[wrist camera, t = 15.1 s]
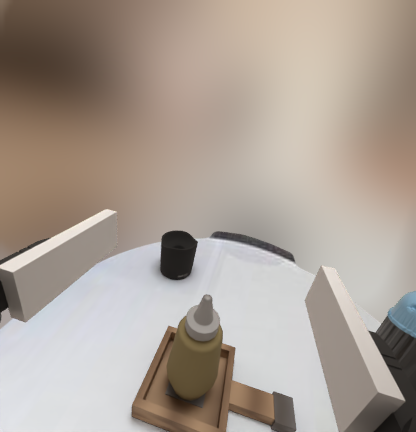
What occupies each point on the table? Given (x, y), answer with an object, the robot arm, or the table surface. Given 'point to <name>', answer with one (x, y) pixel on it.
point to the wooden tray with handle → (207, 399)
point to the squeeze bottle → (196, 351)
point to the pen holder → (177, 254)
